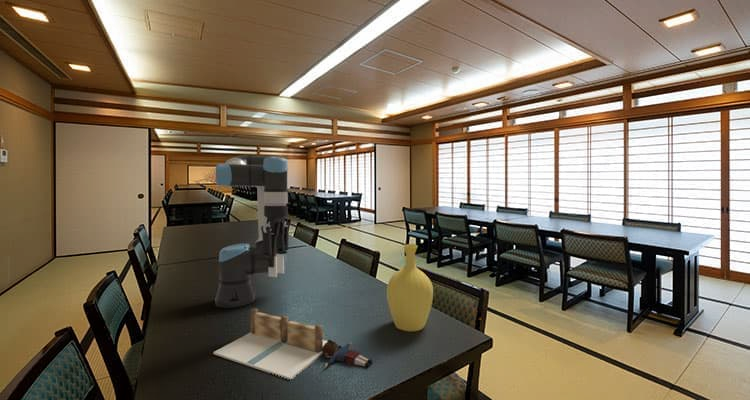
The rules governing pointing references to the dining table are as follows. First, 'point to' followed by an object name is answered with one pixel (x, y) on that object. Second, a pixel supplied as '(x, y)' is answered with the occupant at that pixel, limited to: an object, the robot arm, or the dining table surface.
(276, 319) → the fence wing
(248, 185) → the robot arm
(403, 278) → the vase
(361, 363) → the toy
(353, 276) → the dining table surface
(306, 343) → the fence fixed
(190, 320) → the dining table surface
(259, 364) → the card
